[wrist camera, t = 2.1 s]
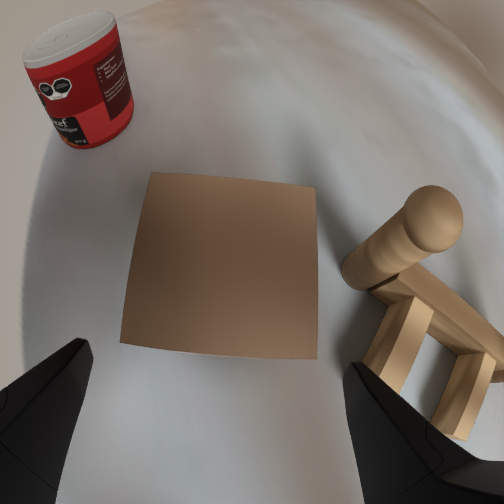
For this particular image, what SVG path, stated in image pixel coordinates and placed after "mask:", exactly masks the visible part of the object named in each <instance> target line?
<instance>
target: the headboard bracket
mask: <svg viewBox="0 0 504 504" xmlns="http://www.w3.org/2000/svg"><path fill="white" fill-rule="evenodd" d="M462 228H463V213H462V209H461V206H460V204H459V202H458V200H457V199H456V198H455V196H454V195H453V194H452V193H451V192H449V191H448V190H446V189H444V188H442V187H439V186H434V185H429V186H424V187H421V188H419V189H417V190H415V191H414V192H413V193H412V194H411V195H410V196H409V197H408V199H407V200H406V202H405V204H404V206H403V207H402V208H401V209H400V210H399V211H398V212H397V213H396V214H395V215H394V216H392V217H391V218H390V219H389V220H388V221H387V222H386V223H385V224H384V225H382V226H381V227H380V228H379V229H378V230H377V231H376V232H374V233H373V234H372V235H371V236H370V237H369V238H368V239H366V240H365V241H364V242H363V243H362V244H361V245H359V246H358V247H357V248H356V249H355V250H354V251H352V252H351V253H350V254H349V255H348V256H347V257H346V258H345V259H344V261H343V263H342V276H343V278H344V280H345V282H346V283H347V284H348V285H349V286H350V287H351V288H353V289H355V290H360V291H363V290H367V289H369V288H371V287H372V288H371V290H370V292H369V293H371V294H372V295H374V296H375V297H377V298H378V299H380V300H381V301H382V302H384V303H385V304H387V305H388V306H389V307H388V309H387V311H386V314H385V316H384V318H383V320H382V322H381V324H380V327H379V329H378V331H377V333H376V335H375V337H374V339H373V341H372V343H371V345H370V347H369V349H368V351H367V353H366V355H365V357H364V359H363V361H362V362H363V363H364V364H365V365H366V366H368V367H369V368H370V369H371V370H372V371H373V372H374V373H375V374H376V375H378V376H379V377H380V378H381V379H382V380H383V381H384V382H385V383H386V384H387V385H389V386H390V387H391V388H392V389H393V390H394V391H395V392H396V393H397V394H399V393H400V391H401V388H402V386H403V384H404V382H405V380H406V378H407V376H408V374H409V372H410V370H411V367H412V365H413V363H414V361H415V358H416V356H417V354H418V351H419V349H420V346H421V344H422V341H423V339H424V336H425V334H426V333H428V334H429V335H430V336H432V337H433V338H435V339H436V340H437V341H439V342H440V343H441V344H443V345H444V346H445V347H447V348H448V349H450V350H451V351H452V352H454V353H455V354H456V355H458V357H457V360H456V362H455V365H454V368H453V370H452V373H451V376H450V378H449V381H448V383H447V386H446V388H445V390H444V393H443V395H442V397H441V399H440V402H439V404H438V406H437V408H436V410H435V412H434V414H433V417H432V419H431V421H430V423H431V424H432V425H433V426H434V427H436V428H437V429H438V430H439V431H440V432H441V433H443V434H444V435H445V436H447V437H448V438H452V439H457V440H462V441H466V440H467V438H468V435H469V433H470V431H471V429H472V427H473V424H474V422H475V420H476V418H477V415H478V413H479V410H480V408H481V405H482V403H483V400H484V397H485V395H486V392H487V389H488V386H489V383H500V382H504V337H503V336H502V335H501V334H500V333H499V332H498V331H497V330H496V329H495V328H494V327H493V326H492V325H491V324H490V323H489V322H487V321H486V320H485V319H484V318H483V317H482V316H481V315H480V314H479V313H478V312H476V311H475V310H474V309H473V308H472V307H471V306H470V305H469V304H467V303H466V302H465V301H464V300H463V299H462V298H460V297H459V296H458V295H457V294H456V293H455V292H453V291H452V290H451V289H450V288H449V287H447V286H446V285H445V284H444V283H443V282H441V281H440V280H439V279H438V278H436V277H435V276H434V275H433V274H431V273H430V272H429V271H428V270H426V269H425V268H424V267H423V266H421V265H420V264H419V263H417V262H419V261H420V260H422V259H424V258H426V257H427V256H429V255H431V254H433V253H439V252H442V251H445V250H447V249H449V248H450V247H452V246H453V245H454V244H455V243H456V241H457V240H458V238H459V236H460V234H461V232H462Z"/></svg>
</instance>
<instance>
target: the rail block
mask: <svg viewBox="0 0 504 504" xmlns="http://www.w3.org/2000/svg"><path fill="white" fill-rule="evenodd" d="M317 339H318V245H317V216H316V195H315V188H314V187H307V186H300V185H292V184H284V183H276V182H268V181H259V180H249V179H239V178H229V177H217V176H205V175H191V174H175V173H155V172H151V176H150V180H149V183H148V187H147V191H146V195H145V199H144V203H143V207H142V212H141V216H140V220H139V225H138V229H137V234H136V239H135V244H134V249H133V254H132V259H131V265H130V271H129V277H128V283H127V289H126V296H125V303H124V310H123V318H122V326H121V335H120V343H125V344H131V345H137V346H143V347H150V348H157V349H164V350H172V351H178V352H180V353H189V354H198V355H208V356H220V357H233V358H249V359H260V358H270V359H317Z"/></svg>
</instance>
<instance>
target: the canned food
mask: <svg viewBox="0 0 504 504" xmlns="http://www.w3.org/2000/svg"><path fill="white" fill-rule="evenodd" d="M22 60H23V63H24V67H25V69H26V71H27V73H28V76H29V78H30V80H31V82H32V84H33V86H34V88H35V90H36V92H37V94H38V96H39V98H40V100H41V102H42V104H43V106H44V108H45V110H46V111H47V113H48V115H49V117H50V119H51V120H52V122H53V124H54V126H55V128H56V130H57V131H58V133H59V135H60V137H61V138H62V140H63V141H64V142H65V143H67V144H68V145H70V146H71V147H73V148H77V149H88V148H93V147H96V146H99V145H102V144H104V143H106V142H108V141H110V140H111V139H113V138H114V137H116V136H117V135H118V134H120V133H121V132H122V131H123V130H124V129H125V128H126V126H127V125H128V124H129V122H130V120H131V118H132V115H133V109H134V102H133V98H132V94H131V89H130V85H129V81H128V76H127V72H126V67H125V63H124V58H123V53H122V48H121V43H120V38H119V33H118V29H117V24H116V20H115V18H114V15H113V13H111V12H108V11H97V12H90V13H85V14H82V15H78V16H76V17H73V18H70V19H68V20H66V21H63V22H61V23H59V24H58V25H56V26H54V27H52V28H51V29H49V30H47V31H46V32H44V33H43V34H42V35H40V36H39V37H38V38H37V39H35V40H34V41H33V42H32V43H31V44H30V45H29V46H28V48H27V49H26V50H25V52H24V54H23V56H22Z"/></svg>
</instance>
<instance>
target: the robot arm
mask: <svg viewBox="0 0 504 504" xmlns="http://www.w3.org/2000/svg"><path fill="white" fill-rule="evenodd" d="M92 364H93V354H92V351H91V348H90V345H89V342H88V340H86V339H82V338H76V339H74V340H73V341H71V342H70V343H68V344H67V345H65V346H64V347H62V348H61V349H59V350H58V351H56V352H55V353H54V354H52V355H51V356H49V357H48V358H46V359H45V360H43V361H42V362H41V363H39V364H38V365H36V366H35V367H33V368H32V369H31V370H29V371H28V372H26V373H25V374H23V375H22V376H21V377H19V378H18V379H16V380H15V381H14V382H12V383H11V384H9V385H8V387H5V388H4V389H2V390H1V391H0V504H55V502H56V497H57V491H58V487H59V483H60V479H61V475H62V471H63V467H64V463H65V459H66V456H67V452H68V448H69V445H70V442H71V438H72V435H73V432H74V428H75V425H76V422H77V419H78V416H79V413H80V410H81V407H82V404H83V401H84V397H85V393H86V389H87V385H88V381H89V376H90V372H91V368H92ZM343 390H344V398H345V407H346V416H347V422H348V426H349V431H350V435H351V439H352V444H353V448H354V453H355V458H356V462H357V467H358V472H359V477H360V482H361V487H362V492H363V497H364V503H365V504H504V461H486V460H482V459H479V458H477V457H475V456H473V455H472V454H470V453H469V452H467V451H466V450H464V449H463V448H462V447H460V446H459V445H457V444H456V443H455V442H453V441H452V440H451V439H449V438H448V437H447V436H445V435H444V434H443V433H441V432H440V431H439V430H438V429H437V428H436V427H434V426H433V425H432V424H431V423H430V422H429V421H426V419H425V418H424V417H423V416H422V415H421V414H420V413H419V412H417V411H416V410H415V409H414V408H413V407H412V406H411V405H410V404H409V403H407V402H406V401H405V400H404V399H403V398H402V397H401V396H400V395H399V394H397V393H396V392H395V391H394V390H393V389H392V388H391V387H390V386H389V385H387V384H386V383H385V382H384V381H383V380H382V379H381V378H380V377H379V376H378V375H376V374H375V373H374V372H373V371H372V370H371V369H370V368H369V367H368V366H366V365H365V364H364V363H363V362H351V363H350V364H349V366H348V368H347V370H346V372H345V374H344V377H343Z"/></svg>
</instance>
